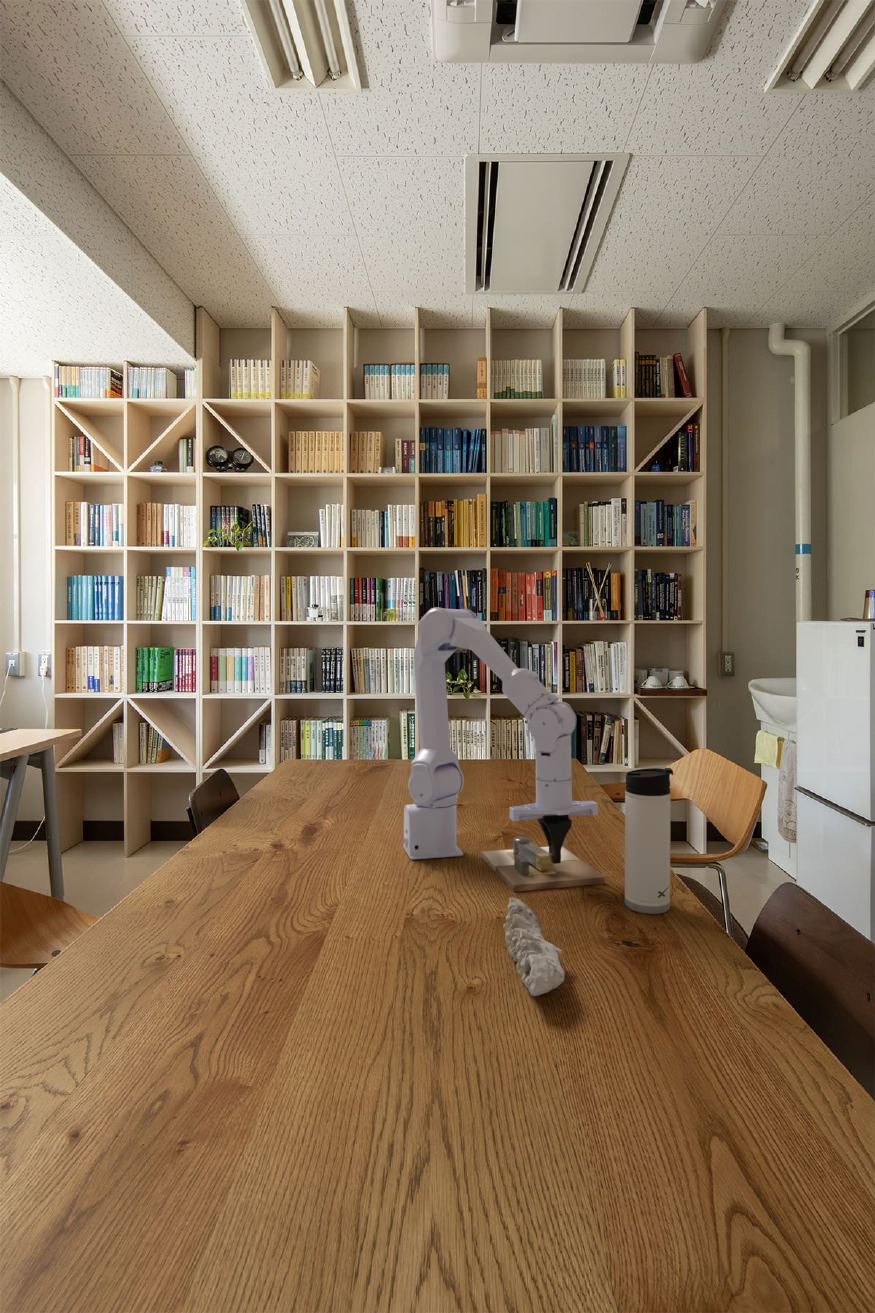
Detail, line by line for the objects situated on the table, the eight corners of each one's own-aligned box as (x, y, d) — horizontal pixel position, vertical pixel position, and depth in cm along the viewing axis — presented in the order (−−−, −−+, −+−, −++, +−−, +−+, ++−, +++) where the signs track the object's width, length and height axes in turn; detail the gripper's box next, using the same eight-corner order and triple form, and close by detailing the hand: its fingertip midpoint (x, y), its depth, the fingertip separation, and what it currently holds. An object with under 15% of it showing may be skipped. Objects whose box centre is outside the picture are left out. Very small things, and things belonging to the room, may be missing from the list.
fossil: (497, 931, 93) (497, 894, 93) (542, 930, 93) (542, 892, 93) (527, 1016, 72) (527, 968, 72) (584, 1014, 72) (584, 966, 72)
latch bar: (510, 853, 122) (510, 837, 122) (525, 851, 123) (525, 836, 122) (539, 872, 112) (539, 855, 112) (554, 870, 113) (554, 853, 113)
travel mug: (675, 916, 97) (676, 773, 97) (626, 913, 98) (626, 771, 98) (669, 899, 103) (670, 765, 103) (623, 896, 105) (623, 763, 104)
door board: (513, 891, 107) (513, 871, 107) (481, 857, 123) (481, 839, 123) (603, 883, 110) (604, 863, 110) (561, 851, 127) (561, 833, 127)
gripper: (519, 785, 107) (520, 873, 108) (606, 779, 111) (607, 865, 111) (504, 777, 114) (506, 860, 115) (586, 772, 117) (588, 852, 118)
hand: (554, 861), depth 113 cm, fingers closed, pressing on latch bar
